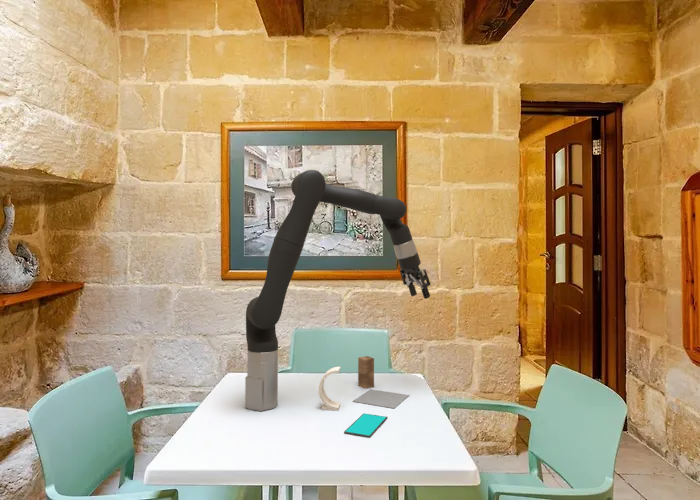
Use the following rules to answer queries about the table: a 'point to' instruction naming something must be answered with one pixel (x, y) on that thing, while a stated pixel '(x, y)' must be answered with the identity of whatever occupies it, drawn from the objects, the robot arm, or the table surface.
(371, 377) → the walnut block
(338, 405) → the headphone stand
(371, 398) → the mat
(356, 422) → the smartphone
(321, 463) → the table surface
